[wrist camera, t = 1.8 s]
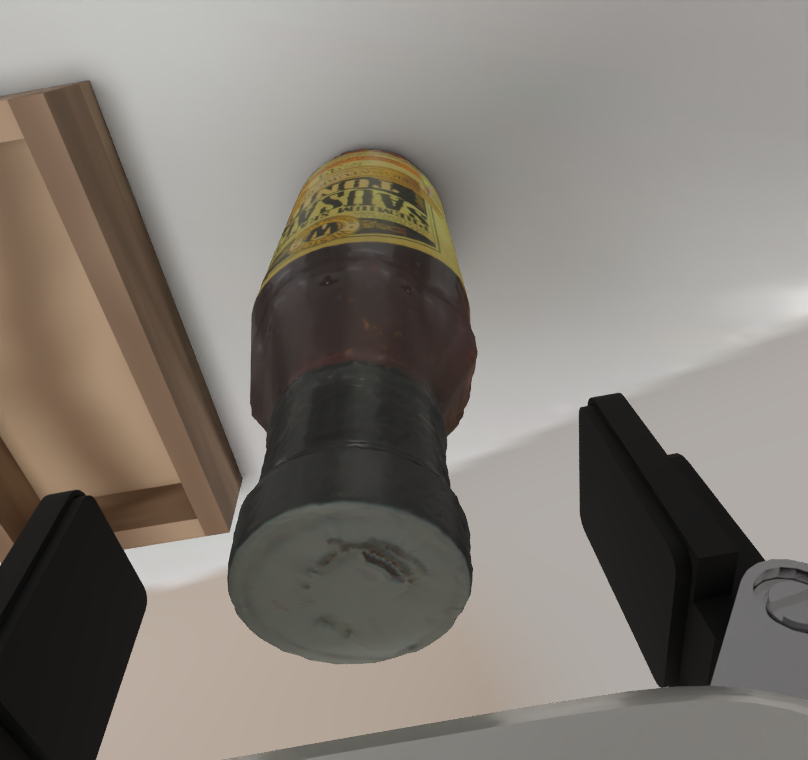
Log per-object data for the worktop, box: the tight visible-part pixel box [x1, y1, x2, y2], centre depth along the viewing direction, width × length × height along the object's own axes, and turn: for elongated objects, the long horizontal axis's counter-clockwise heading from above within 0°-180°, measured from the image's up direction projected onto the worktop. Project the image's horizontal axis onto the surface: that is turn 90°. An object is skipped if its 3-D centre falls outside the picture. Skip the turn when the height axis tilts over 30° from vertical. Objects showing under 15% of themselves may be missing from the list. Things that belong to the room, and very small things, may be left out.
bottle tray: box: [0, 81, 242, 564], centre depth 27 cm, size 11×20×4 cm, turn 9°
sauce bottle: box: [228, 149, 478, 664], centre depth 18 cm, size 6×6×20 cm
